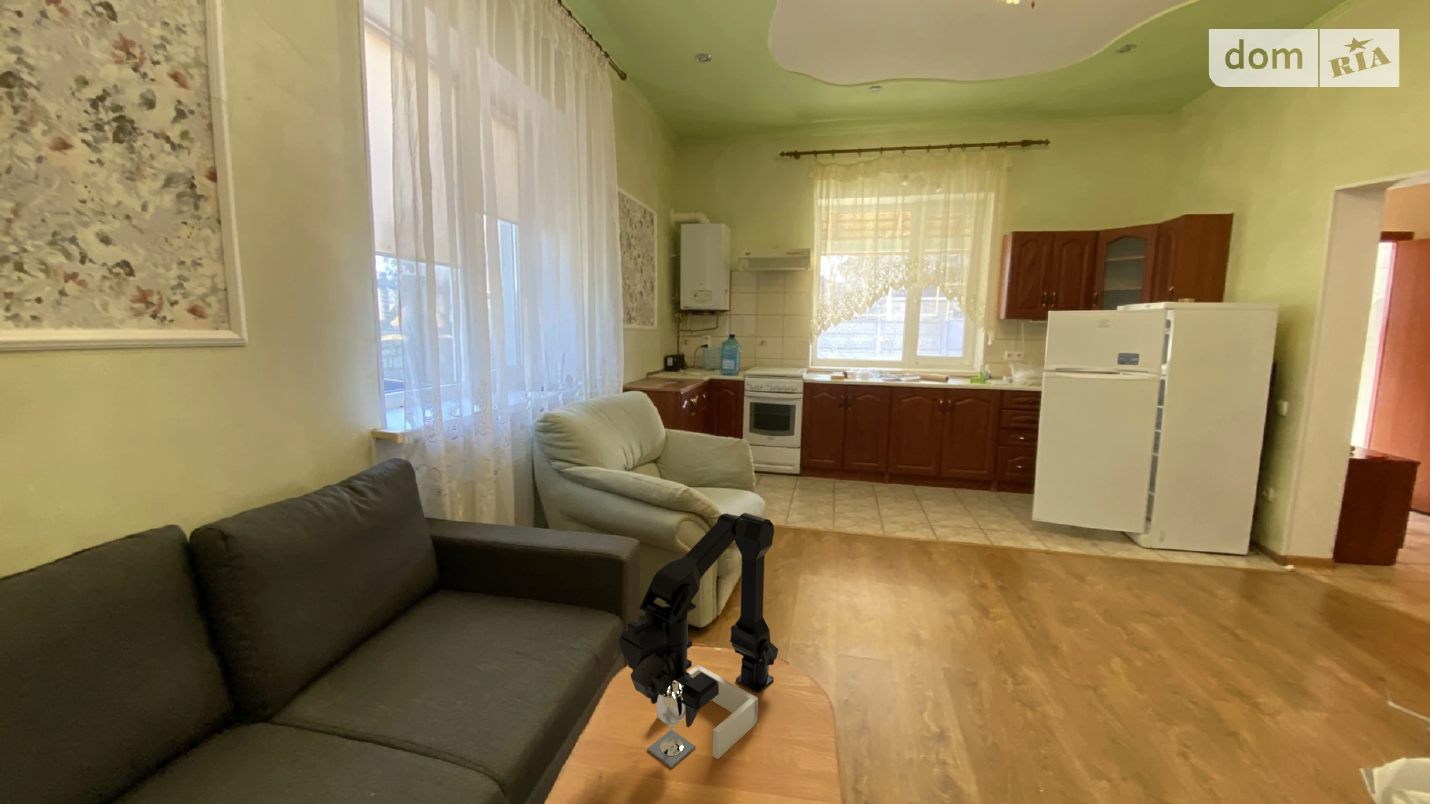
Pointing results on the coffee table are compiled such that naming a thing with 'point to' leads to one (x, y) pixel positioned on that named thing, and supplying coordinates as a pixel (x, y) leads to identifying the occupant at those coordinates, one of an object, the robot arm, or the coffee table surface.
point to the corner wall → (735, 702)
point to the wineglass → (671, 716)
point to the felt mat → (671, 760)
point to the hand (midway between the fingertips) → (671, 714)
